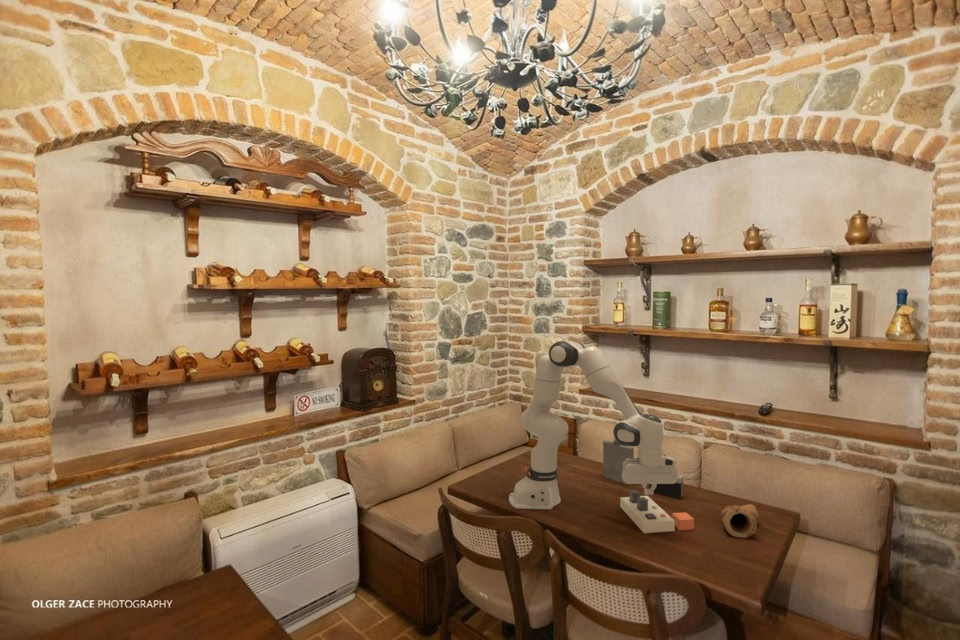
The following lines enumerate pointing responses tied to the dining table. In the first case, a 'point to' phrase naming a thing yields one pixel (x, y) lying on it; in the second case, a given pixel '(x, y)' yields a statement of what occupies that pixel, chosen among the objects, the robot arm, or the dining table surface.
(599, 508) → the dining table surface
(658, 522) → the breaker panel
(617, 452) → the hip flask
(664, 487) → the camera
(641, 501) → the block
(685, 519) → the cap
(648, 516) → the block
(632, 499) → the block
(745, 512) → the clay pipe
